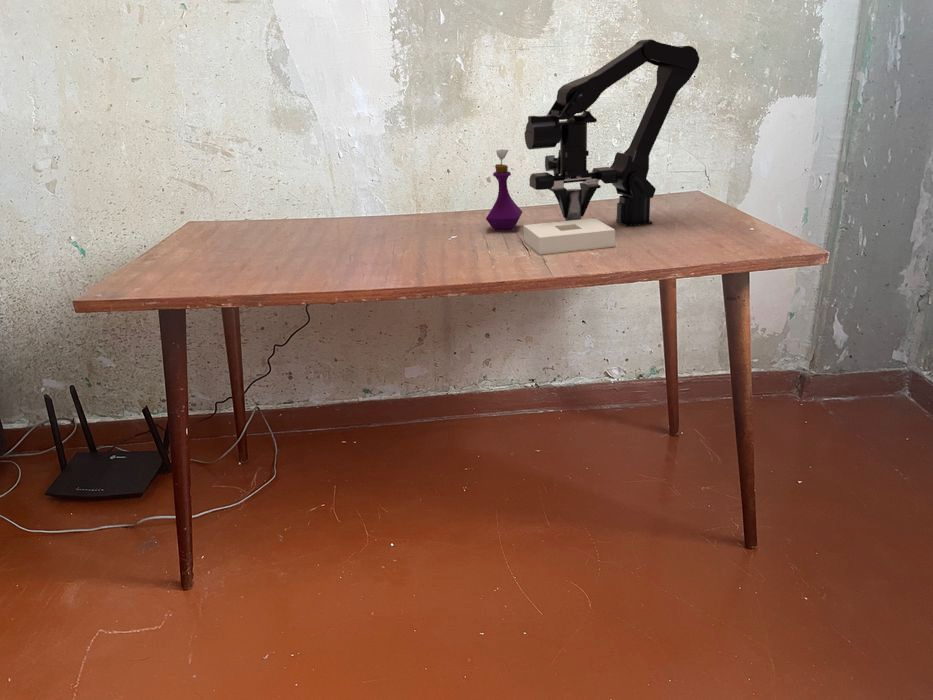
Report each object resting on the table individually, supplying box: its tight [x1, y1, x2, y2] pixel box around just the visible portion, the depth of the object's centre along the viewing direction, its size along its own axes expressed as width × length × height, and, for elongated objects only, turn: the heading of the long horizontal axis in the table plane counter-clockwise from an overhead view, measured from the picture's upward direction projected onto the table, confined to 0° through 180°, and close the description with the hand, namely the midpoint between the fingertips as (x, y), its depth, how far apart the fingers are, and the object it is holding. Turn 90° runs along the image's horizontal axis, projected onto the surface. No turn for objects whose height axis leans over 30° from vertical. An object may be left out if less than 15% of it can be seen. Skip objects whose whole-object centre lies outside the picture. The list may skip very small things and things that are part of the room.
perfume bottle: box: [485, 149, 523, 232], centre depth 162 cm, size 8×8×18 cm
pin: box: [564, 188, 582, 221], centre depth 158 cm, size 4×4×9 cm
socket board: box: [523, 217, 616, 256], centre depth 149 cm, size 16×12×4 cm
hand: (573, 217), depth 159 cm, fingers closed on pin, 4 cm apart
